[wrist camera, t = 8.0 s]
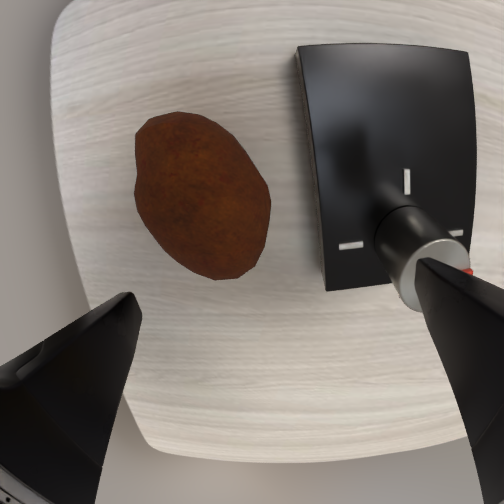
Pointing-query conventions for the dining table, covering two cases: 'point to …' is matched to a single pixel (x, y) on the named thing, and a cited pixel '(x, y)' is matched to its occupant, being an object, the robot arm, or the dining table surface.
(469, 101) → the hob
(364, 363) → the dining table surface
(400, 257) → the hob knob
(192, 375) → the dining table surface
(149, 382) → the dining table surface
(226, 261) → the potato
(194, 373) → the dining table surface
